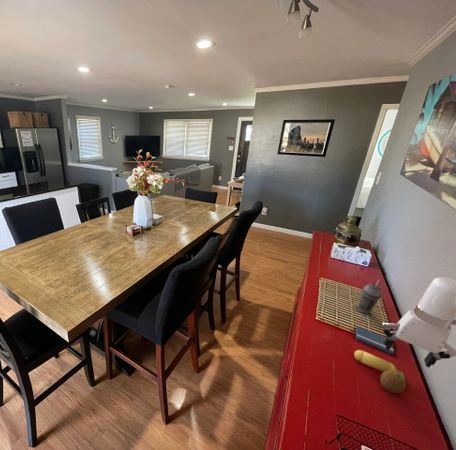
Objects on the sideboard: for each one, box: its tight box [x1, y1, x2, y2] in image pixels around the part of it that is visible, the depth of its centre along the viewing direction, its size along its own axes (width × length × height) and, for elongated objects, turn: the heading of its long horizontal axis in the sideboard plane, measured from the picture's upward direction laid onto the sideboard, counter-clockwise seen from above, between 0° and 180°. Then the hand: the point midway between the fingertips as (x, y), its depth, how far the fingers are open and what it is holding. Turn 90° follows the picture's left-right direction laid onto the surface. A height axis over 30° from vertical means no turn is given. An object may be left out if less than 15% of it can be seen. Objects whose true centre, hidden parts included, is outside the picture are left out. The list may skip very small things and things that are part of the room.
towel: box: [355, 326, 395, 356], centre depth 104 cm, size 12×8×2 cm, turn 52°
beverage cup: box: [357, 278, 383, 315], centre depth 117 cm, size 7×7×20 cm
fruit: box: [379, 370, 407, 394], centre depth 83 cm, size 6×6×8 cm
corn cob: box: [353, 349, 405, 379], centre depth 92 cm, size 15×4×4 cm, turn 52°
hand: (405, 355), depth 79 cm, fingers open, 9 cm apart
